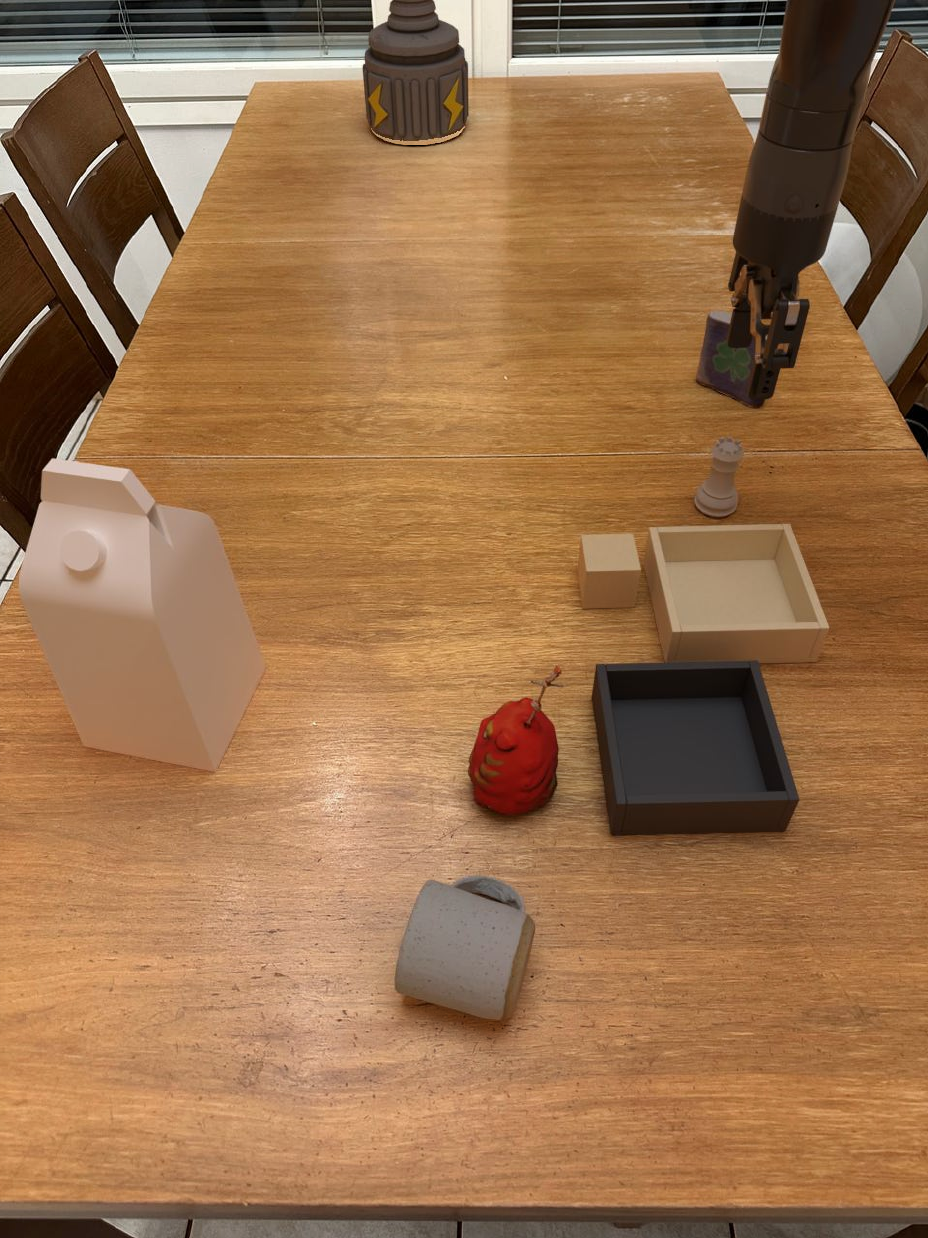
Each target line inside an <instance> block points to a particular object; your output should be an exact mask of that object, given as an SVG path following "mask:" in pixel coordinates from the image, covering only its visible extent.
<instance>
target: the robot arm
mask: <svg viewBox="0 0 928 1238" xmlns="http://www.w3.org/2000/svg"><path fill="white" fill-rule="evenodd" d="M895 2H896V0H786V5H785V10H784V16H783V23H782V29H781V37H780V42H779V50H778V54H777V57H776V58H775V61H774V65H773V67H772V69H771V73H770V77H769V81H768V84H767V88H766V93H765V98H764V102H763V107H762V111H761V116H760V122H759V125H758V126H759V127H758V131H757V135H756V138H755V141H754V144H753V146H752V150H751V152H750V156H749V159H748V163H747V168H746V173H745V178H744V181H743V187H742V193H741V197H740V201H739V206H738V212H737V216H736V222H735V227H734V231H733V235H732V246H733V248H734V250H735V255H734V258H733V262H732V268H731V271H730V276H729V280H728V283H727V287H728V291H729V292H732V295H731V298H730V304H731V308H733V309H732V312H731V314H732V316H731V321H730V326H729V330H728V335H727V339H726V342H727V344H728V347H730V348H747V347H749V346H750V344H751V341H752V337H753V336H755V338H756V352H755V360H754V364H753V368H752V372H751V376H750V380H749V384H748V388H747V394H748V396H749V398H750V399H752V400H756V399H765V400H770V399H771V398H773V396H774V393H775V391H776V386H777V383H778V380H779V376H780V372H781V369H794V368H795V366H796V362H797V357H798V354H799V350H800V348H801V347H800V346H801V343H802V338H803V334H804V331H805V327H806V323H807V320H808V315H809V312H810V308H811V306H810V300H809V298H799V297H800V286H801V285H800V276H799V274H800V273H801V272H802V271H803V270H805V269H806V268H808V267H810V266H812V265H815V264H816V263H817V262H819V261H820V260H821V259H822V258H823V257H824V255H825V253H826V251H827V247H828V243H829V241H830V237H831V234H832V233H831V232H832V230H833V226H834V222H835V219H836V215H837V211H838V208H839V204H840V200H841V198H842V194H843V192H844V191H843V190H844V186H845V184H846V180H847V177H848V172H849V167H850V162H851V153H852V146H853V143H854V137H855V135H856V133H857V132H856V131H857V128H858V124H859V120H860V117H861V114H862V109H863V106H864V102H865V100H866V96H867V92H868V87H869V82H870V77H871V76H870V75H871V72H872V71H871V69H872V65H873V61H874V59H875V56H876V54H877V52H878V49H879V47H880V44H881V41H882V38H883V36H884V33H885V31H886V28H887V25H888V23H889V20H890V16H891V13H892V11H893V8H894V5H895ZM763 320H770V323H769V324H765V323H763ZM766 335H768V336H767V341H766ZM777 345H778V348H777V349H775V348H776V346H777Z"/></svg>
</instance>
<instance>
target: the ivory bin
mask: <svg viewBox="0 0 928 1238" xmlns="http://www.w3.org/2000/svg"><path fill="white" fill-rule="evenodd" d="M647 530H648V532H647V537H646V541H645V542H646V543H645V549H644V555H643V561H642V562H643V568H644V573H645V578H646V581H647V586H648V591H649V595H650V600H651V605H652V610H653V614H654V619H655V624H656V629H657V633H658V639H659V642H660V643H659V644H660V647H661V652H662V657H663V661H664V662H663V663H666V662H708V661H749V660H758V663H759V664H790V663H791V664H795V663H797V664H798V663H817V661H818V658H819V656H820V653H821V651H822V648H823V645H824V644H825V640H826V638H827V635H828V633H829V631H830V625H829V623H828V620H827V617H826V614H825V613H824V609H823V607H822V604H821V602H820V599H819V596H818V593H817V591H816V588H815V585H814V583H813V580H812V578H811V575H810V572H809V570H808V567H807V565H806V562H805V559H804V557H803V553H802V552H801V549H800V546H799V543H798V541H797V538H796V537H795V536H796V535H795V534H794V531H793V528H792V526H791V523H766V524H765V523H764V524H763V523H761V524H760V523H759V524H723V525H721V524H720V525H718V524H717V525H681V526H680V525H679V526H678V525H677V526H649V527H648V529H647Z"/></svg>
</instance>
